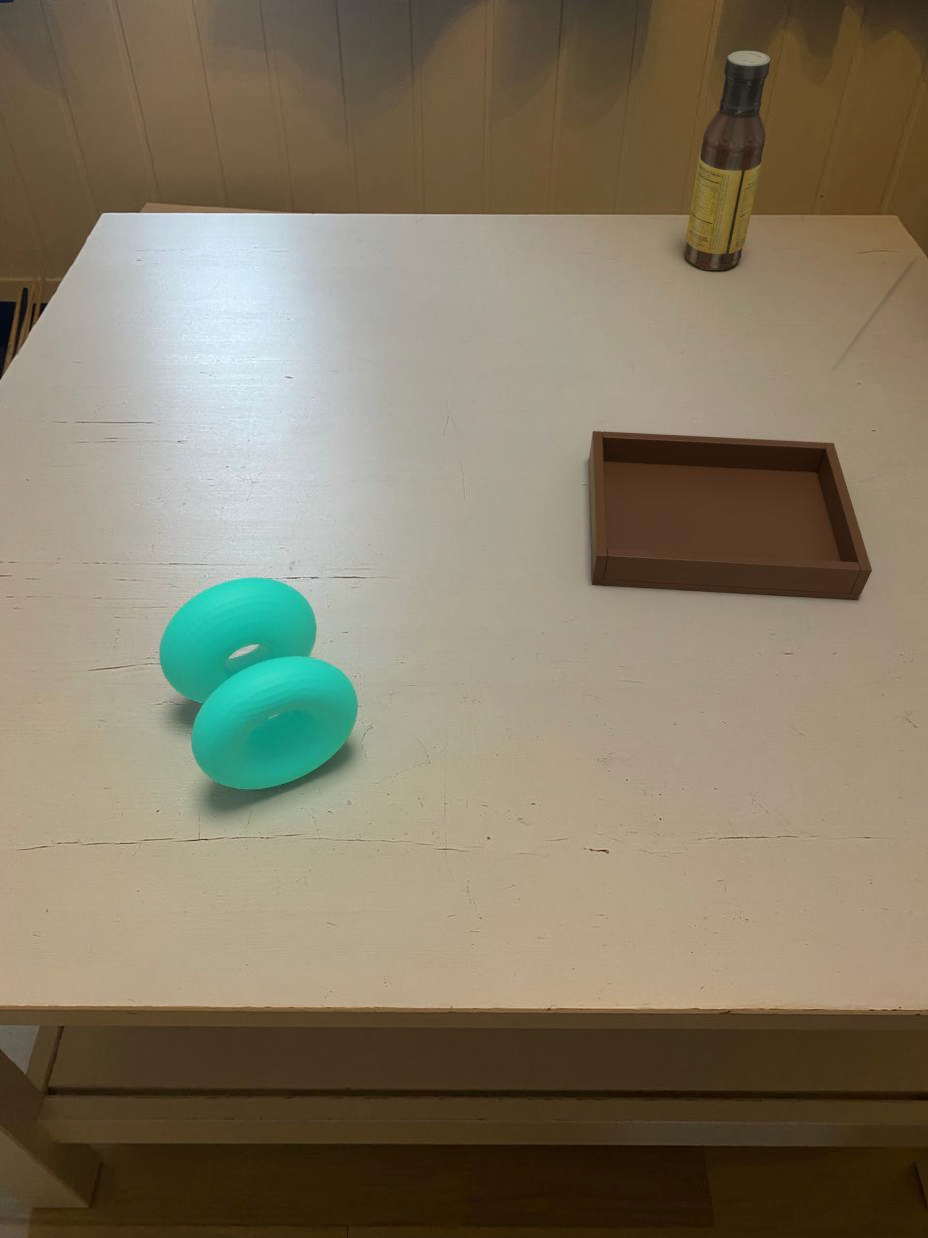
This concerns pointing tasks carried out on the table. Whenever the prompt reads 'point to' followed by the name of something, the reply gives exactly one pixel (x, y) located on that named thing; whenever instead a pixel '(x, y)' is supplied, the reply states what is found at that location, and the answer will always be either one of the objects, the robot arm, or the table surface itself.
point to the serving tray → (723, 516)
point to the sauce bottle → (728, 166)
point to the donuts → (256, 684)
